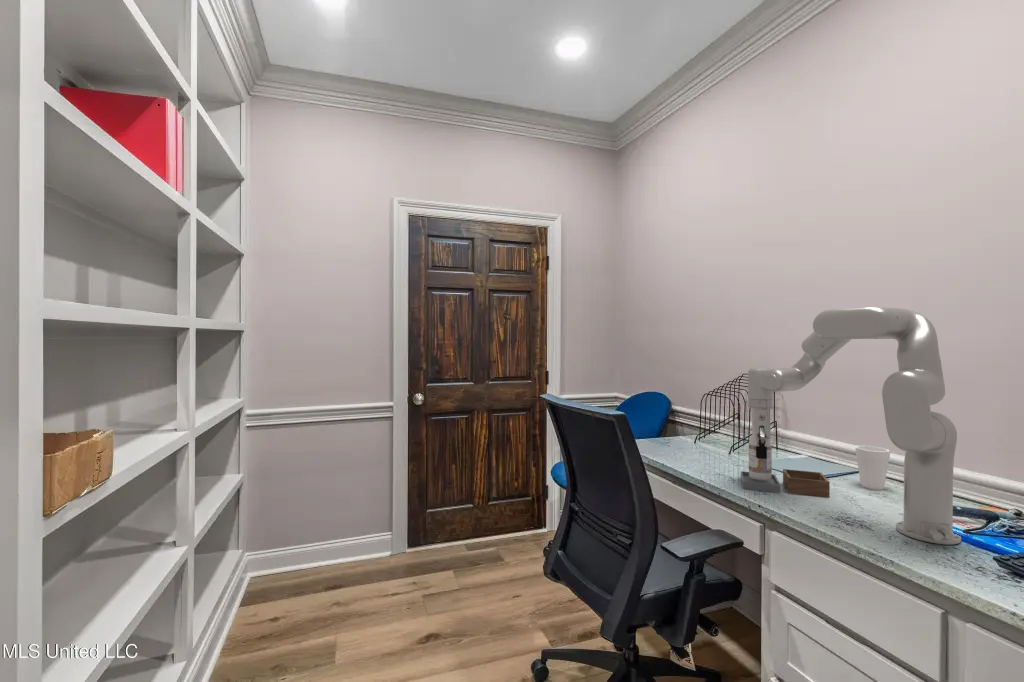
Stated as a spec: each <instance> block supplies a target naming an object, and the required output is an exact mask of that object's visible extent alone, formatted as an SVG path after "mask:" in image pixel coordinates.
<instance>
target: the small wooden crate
mask: <svg viewBox="0 0 1024 682" xmlns="http://www.w3.org/2000/svg"><path fill="white" fill-rule="evenodd" d="M830 483H831V482H830V481H829V480H828V479H827V477H826V476H825V475H824V474H823V472H820V471H819V472H818V471H809V470H808V471H806V470H799V469H798V470H797V469H788V468H782V484H783V487H784V488H785V490H786V491H787V494H792V495H793V494H794V495H802V496H811V497H820V498H830V495H831V494H830V491H831V490H830V487H831V486H830Z"/></svg>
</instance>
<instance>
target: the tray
mask: <svg viewBox="0 0 1024 682" xmlns="http://www.w3.org/2000/svg"><path fill="white" fill-rule="evenodd" d="M740 482H741V485H742V490H750V491H758V492H759V491H760V492H766V493H767V492H768V493H778V494H780V493H781V491H782V489H781V488H782V485H781V483H780V481H779V479H778V477H777V475H776V474H773V473H772V478H771V479H770V480H766V481H763V480H756V479H752V478H750V477H749V471H744V470H743V471H740ZM781 494H782V493H781Z"/></svg>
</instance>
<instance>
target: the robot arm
mask: <svg viewBox="0 0 1024 682" xmlns="http://www.w3.org/2000/svg"><path fill="white" fill-rule="evenodd" d="M812 329H813V331H812V332H811V334H809V335H807V337H806V338H805V339H804V340H803V341H802V343H801V349H802V350H803V352H804V353H803V355H802V357H800V359H799V360H798V361H796V363H794V365H791V367H786V368H785V367H784V368H771V369H770V368H768V367H752V368H749V369H748V371H747V407H748V409H750V410H751V427H752V428H751V429H752V434H754V437H755V438H757V446H756V458H760V459H767V447H766V437H767V438H768V439H770V440H771V438H772V435H771V433H772V431H771V413H770V412H771V411H770V410H773V405H774V401H773V399H774V398H773V397H774V396H773V395H774V394H773V393H774V392H777V393H780V392H792V391H797V390H800V389H802V388H804V387H806V385H808V384H809V383H811V382H812V381H813V380H814V379H815V378H816V377H818V376H819V374H820V373H821V372H822V370H823V369H824V367H825V365H826V362H827V361H828V360H829V359H830V358H831V357H833V355H835V354H836V353H837V352H838V351H840V349H842V348H843V347H844V346H845V345H847V344H848V343H849V342H851V340H862V339H863V340H890V339H891V340H896V341H897V350H896V358H897V364H898V365H897V366H898V371H895V372H893V373H891V374H890V375H888V377H887V378H886V379H885V381H884V382H883V385H882V389H881V391H882V392H881V394H882V395H881V396H882V403H883V404H882V405H883V411H884V420H885V426H886V427H885V428H886V433H887V435H888V438H889V440H890V442H891V443H892V444H893V445H894V446H895V447H896V448H898V449H899V450H901V451H903V452H905V453H904V459H903V461H904V462H903V521H898V522H896V524H895V529H896V531H897V532H899V533H900V534H902V535H904V536H907V537H909V538H912V539H915V540H918V541H922V542H927V543H931V544H937V545H949V546H951V545H958V544H960V543H961V542H962V537H961V535H960V534H959V535H960V536H959V535H957V534H958V533H957V534H954V533H953V531H954V530H953V529H954V528H953V527H954V526H953V525H954V524H953V522H954V520H953V519H954V518H953V516H954V513H953V512H954V509H953V508H954V507H953V506H954V461H955V454H956V453H955V452H956V448H957V447H956V446H957V442H958V432H957V429H956V426H955V424H954V423H953V421H952V420H951V419H950V418H949V417H947V416H946V415H944V414H942V413H940V412H937V411H931V406H933V405H936V404H938V403H940V402H941V401H942V400H944V397H945V395H946V386H945V380H944V373H943V368H942V367H943V366H942V360H941V355H940V350H939V341H938V334H937V331H936V328H935V326H934V324H933V323H932V321H931V320H929V318H927V317H926V316H924V315H923V314H920V313H919V312H916V311H914V310H910V309H905V308H900V307H886V306H885V307H884V306H883V307H880V306H870V307H869V306H868V307H867V306H866V307H855V308H854V307H852V308H840V309H839V308H837V309H836V308H835V309H834V308H833V309H831V308H830V309H826V310H823V311H821V312H820V313H817V315H816V316H815V317H814V319H813V323H812ZM759 429H760V431H759ZM758 436H760V437H758Z"/></svg>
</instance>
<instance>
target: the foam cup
mask: <svg viewBox="0 0 1024 682" xmlns="http://www.w3.org/2000/svg"><path fill="white" fill-rule="evenodd" d="M855 455H856V461H857V467H858V477H859V483H860V486H861V487H862V488H864V489H865V488H866V489H870V490H876V491H877V490H878V491H879V490H880V491H881V490H884V489H885V484H886V479H887V472H888V467H889V461H890V458H891V450H890V449H887V448H885V447H881V446H873V445H857V446H856V445H855Z"/></svg>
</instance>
